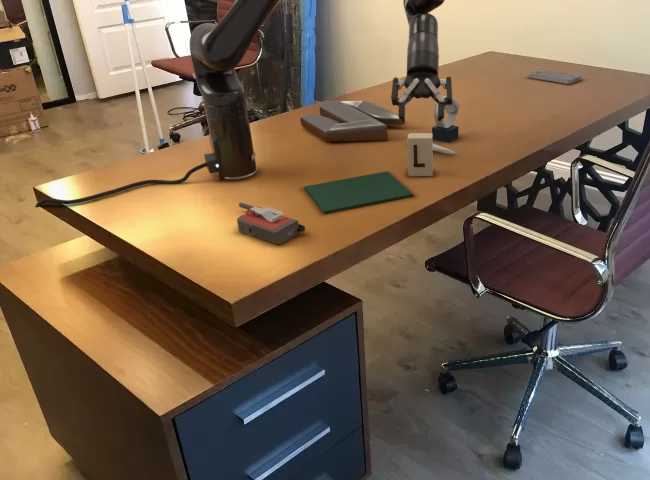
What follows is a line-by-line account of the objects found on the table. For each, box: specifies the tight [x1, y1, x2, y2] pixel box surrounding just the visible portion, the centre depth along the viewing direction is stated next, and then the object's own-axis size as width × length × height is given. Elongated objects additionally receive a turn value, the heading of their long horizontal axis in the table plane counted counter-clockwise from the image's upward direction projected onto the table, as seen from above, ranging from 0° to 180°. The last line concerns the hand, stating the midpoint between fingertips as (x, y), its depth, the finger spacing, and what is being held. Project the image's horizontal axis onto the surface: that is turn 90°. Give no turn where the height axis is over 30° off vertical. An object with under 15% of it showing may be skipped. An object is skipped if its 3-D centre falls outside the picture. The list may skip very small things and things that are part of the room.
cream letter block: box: [406, 132, 434, 177], centre depth 150 cm, size 6×4×9 cm
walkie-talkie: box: [236, 202, 306, 245], centre depth 129 cm, size 9×4×20 cm
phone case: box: [528, 69, 582, 85], centre depth 221 cm, size 8×16×1 cm, turn 47°
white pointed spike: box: [433, 143, 456, 155], centre depth 164 cm, size 15×3×2 cm, turn 47°
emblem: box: [299, 100, 406, 142], centre depth 181 cm, size 28×5×28 cm
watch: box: [431, 95, 461, 143], centre depth 170 cm, size 6×8×11 cm
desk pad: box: [304, 171, 414, 215], centre depth 144 cm, size 20×15×1 cm
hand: (421, 119), depth 152 cm, fingers open, 8 cm apart
